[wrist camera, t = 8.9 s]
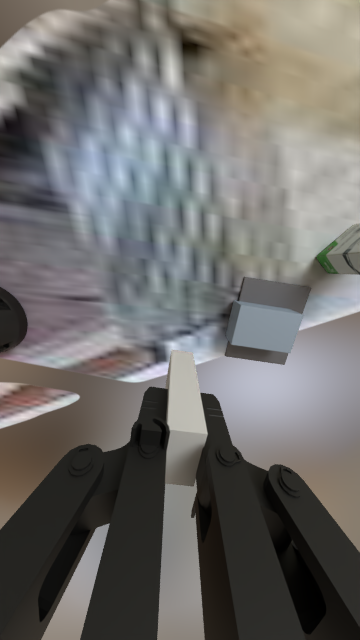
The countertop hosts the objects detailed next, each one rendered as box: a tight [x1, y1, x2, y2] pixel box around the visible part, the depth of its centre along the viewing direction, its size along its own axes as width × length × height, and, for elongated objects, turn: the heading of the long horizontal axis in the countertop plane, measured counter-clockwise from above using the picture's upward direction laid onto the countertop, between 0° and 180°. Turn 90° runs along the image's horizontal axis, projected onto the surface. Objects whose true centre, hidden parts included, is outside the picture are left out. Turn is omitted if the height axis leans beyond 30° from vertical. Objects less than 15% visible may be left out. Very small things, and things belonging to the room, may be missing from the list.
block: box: [225, 300, 303, 353], centre depth 38 cm, size 5×8×12 cm
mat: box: [225, 277, 311, 365], centre depth 41 cm, size 14×18×1 cm
